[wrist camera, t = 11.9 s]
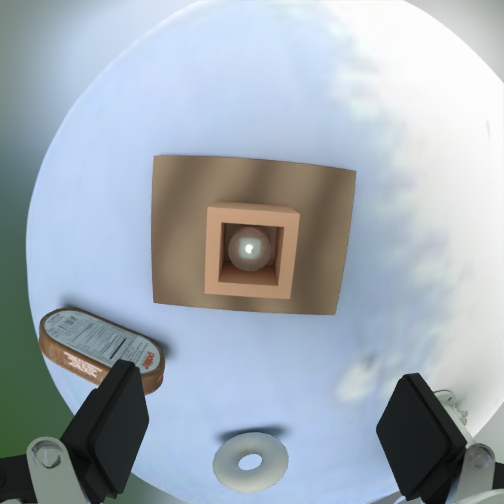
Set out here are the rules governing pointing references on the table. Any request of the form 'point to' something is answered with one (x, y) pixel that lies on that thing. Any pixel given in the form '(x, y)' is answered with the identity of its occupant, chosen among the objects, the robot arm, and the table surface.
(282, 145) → the table surface
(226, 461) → the donut
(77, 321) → the tin
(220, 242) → the hollow square tube
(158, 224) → the board
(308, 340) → the table surface
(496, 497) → the robot arm
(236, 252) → the domed metal cylinder
